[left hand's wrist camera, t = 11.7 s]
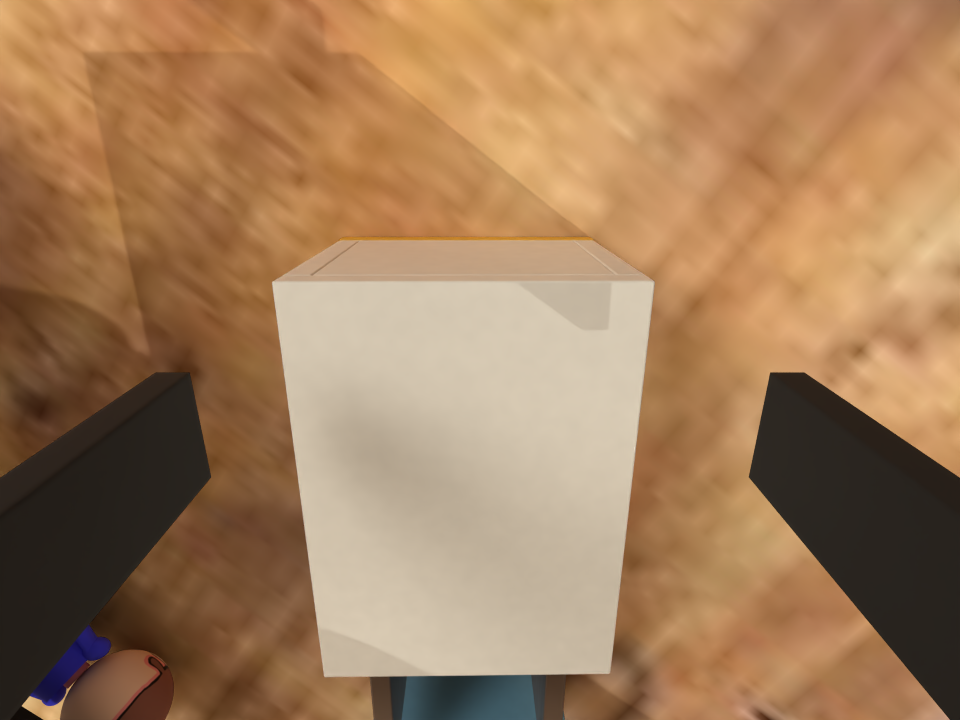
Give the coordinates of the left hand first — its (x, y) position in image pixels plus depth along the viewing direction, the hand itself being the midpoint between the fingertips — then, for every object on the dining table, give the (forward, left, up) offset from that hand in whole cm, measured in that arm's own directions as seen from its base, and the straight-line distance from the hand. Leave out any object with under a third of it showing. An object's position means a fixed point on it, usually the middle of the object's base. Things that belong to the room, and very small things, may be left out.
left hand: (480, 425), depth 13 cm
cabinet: (+3, -3, -12) cm, 13 cm away
